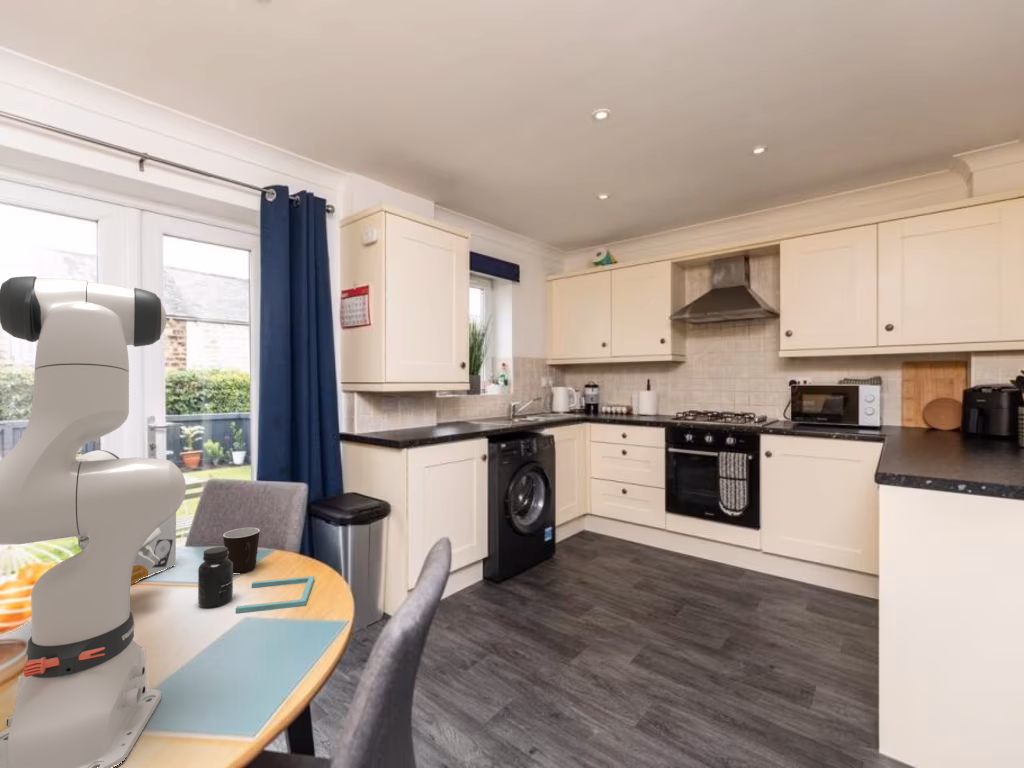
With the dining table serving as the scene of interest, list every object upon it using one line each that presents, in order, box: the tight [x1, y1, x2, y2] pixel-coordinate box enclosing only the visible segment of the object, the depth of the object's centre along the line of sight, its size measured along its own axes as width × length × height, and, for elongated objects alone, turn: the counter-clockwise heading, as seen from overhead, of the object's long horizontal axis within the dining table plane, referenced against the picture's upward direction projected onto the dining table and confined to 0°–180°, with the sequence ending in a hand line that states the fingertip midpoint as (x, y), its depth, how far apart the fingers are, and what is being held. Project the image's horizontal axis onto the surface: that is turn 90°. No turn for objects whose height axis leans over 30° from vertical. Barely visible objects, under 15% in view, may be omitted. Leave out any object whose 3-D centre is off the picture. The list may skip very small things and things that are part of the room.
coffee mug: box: [222, 527, 261, 575], centre depth 128 cm, size 12×9×10 cm
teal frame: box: [235, 575, 315, 614], centre depth 115 cm, size 14×14×1 cm
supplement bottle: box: [197, 546, 234, 609], centre depth 111 cm, size 7×7×12 cm
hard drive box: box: [131, 512, 177, 585], centre depth 126 cm, size 16×8×20 cm, turn 168°
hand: (155, 565), depth 108 cm, fingers closed
